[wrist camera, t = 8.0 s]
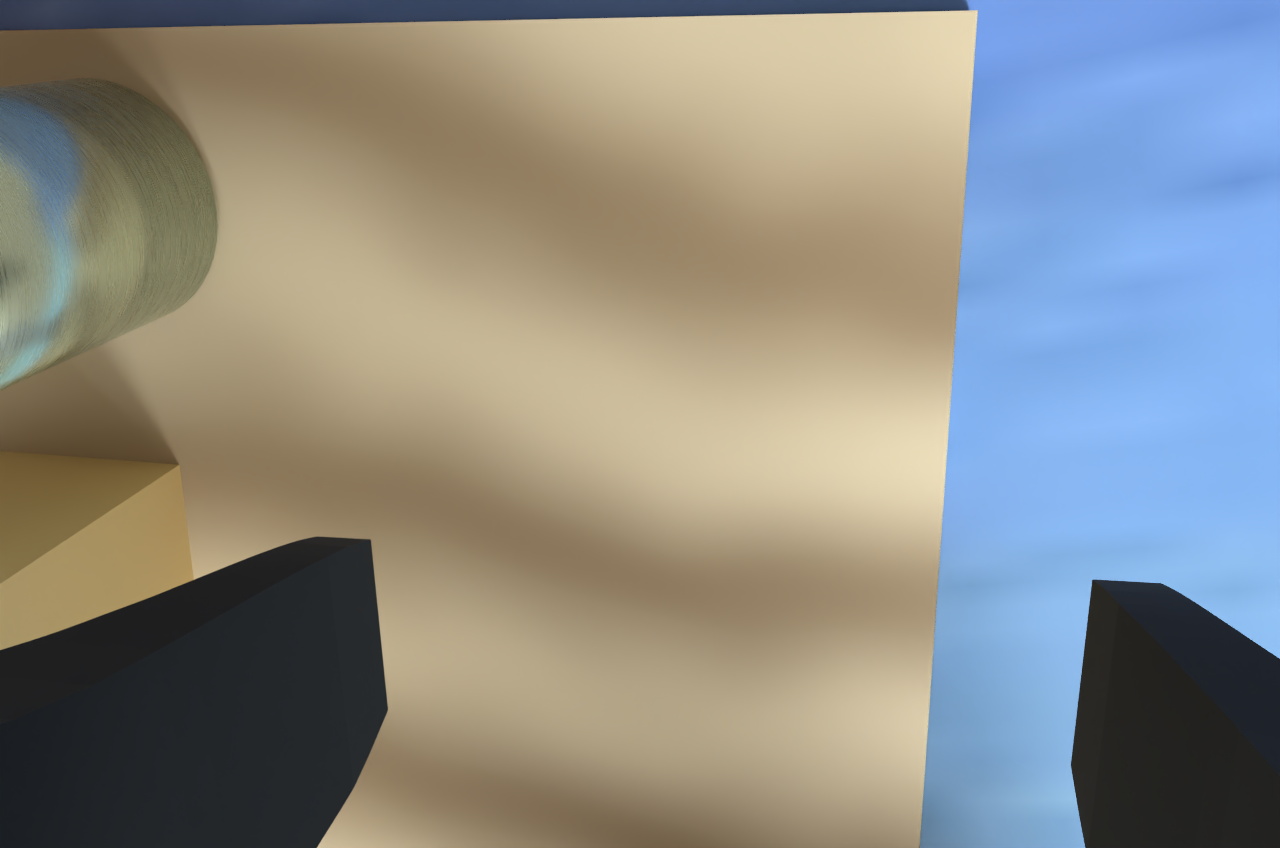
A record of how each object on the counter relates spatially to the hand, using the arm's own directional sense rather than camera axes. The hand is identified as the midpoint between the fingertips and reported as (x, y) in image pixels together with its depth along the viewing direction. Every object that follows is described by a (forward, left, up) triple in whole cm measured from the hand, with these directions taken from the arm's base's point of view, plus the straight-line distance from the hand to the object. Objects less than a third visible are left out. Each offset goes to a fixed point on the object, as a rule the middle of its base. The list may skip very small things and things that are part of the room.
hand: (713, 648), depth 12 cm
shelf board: (-3, +8, -10) cm, 13 cm away
